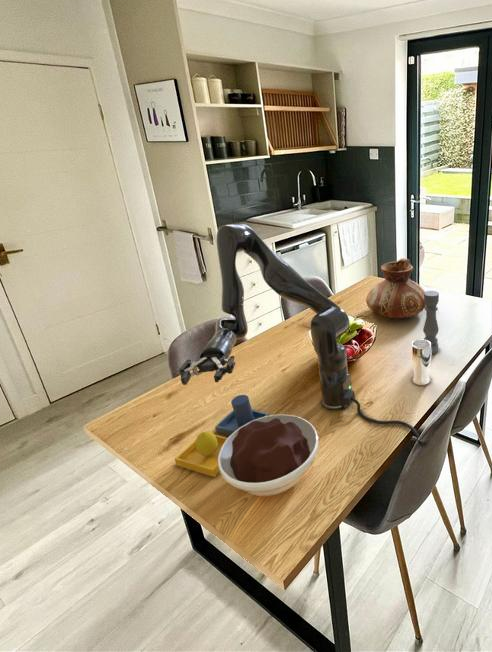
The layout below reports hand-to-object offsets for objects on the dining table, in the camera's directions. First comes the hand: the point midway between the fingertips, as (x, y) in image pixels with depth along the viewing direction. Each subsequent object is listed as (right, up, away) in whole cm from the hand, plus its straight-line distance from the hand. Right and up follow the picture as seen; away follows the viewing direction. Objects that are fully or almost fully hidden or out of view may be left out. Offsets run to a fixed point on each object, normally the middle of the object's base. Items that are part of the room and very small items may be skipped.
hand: (199, 380), depth 108 cm
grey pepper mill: (+69, +2, +54) cm, 88 cm away
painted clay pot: (+57, +16, +90) cm, 107 cm away
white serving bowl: (+21, -24, -2) cm, 32 cm away
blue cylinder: (+7, -16, +16) cm, 24 cm away
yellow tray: (+1, -22, +4) cm, 22 cm away
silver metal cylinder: (+64, -7, +35) cm, 73 cm away
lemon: (+1, -22, +4) cm, 22 cm away
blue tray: (+7, -17, +15) cm, 24 cm away
